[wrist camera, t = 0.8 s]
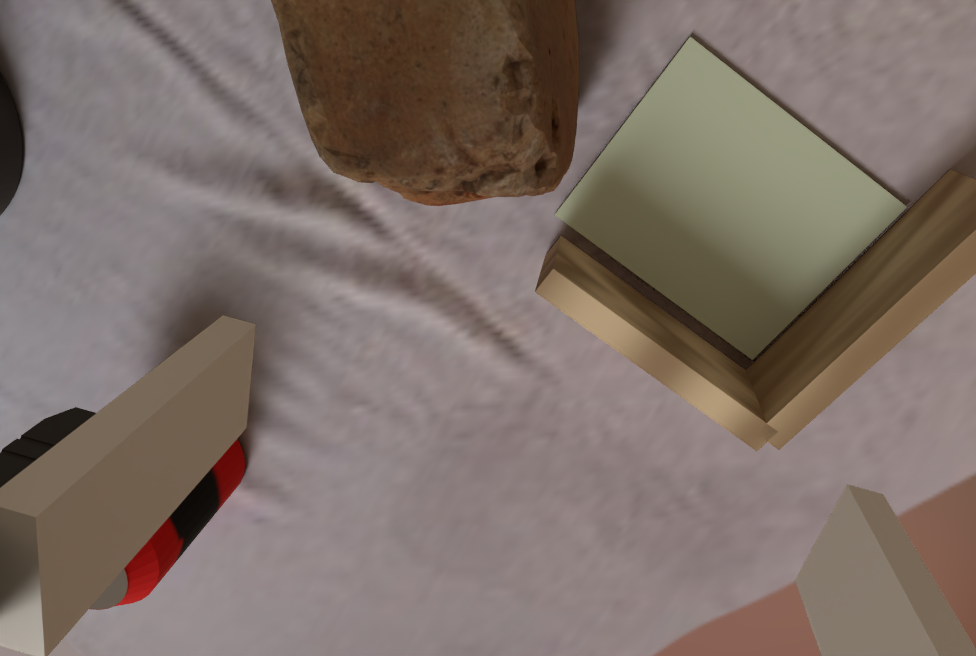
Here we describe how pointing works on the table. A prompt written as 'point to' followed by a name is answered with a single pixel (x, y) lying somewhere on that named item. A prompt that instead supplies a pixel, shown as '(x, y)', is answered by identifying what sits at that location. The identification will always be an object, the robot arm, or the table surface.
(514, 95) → the brown sandstone rock
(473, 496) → the table surface
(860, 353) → the wooden l-shaped piece
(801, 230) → the pad
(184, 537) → the soda can
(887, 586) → the robot arm
